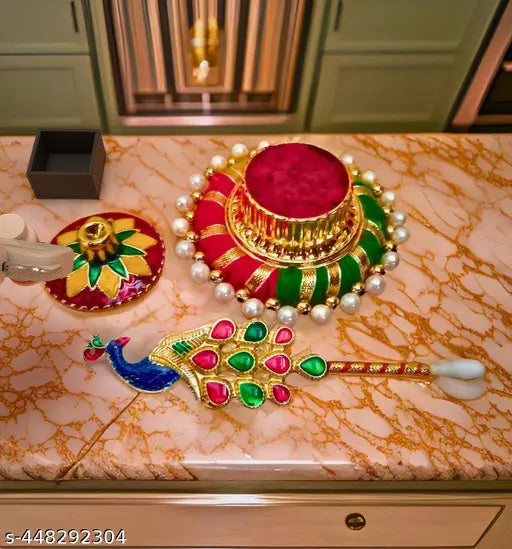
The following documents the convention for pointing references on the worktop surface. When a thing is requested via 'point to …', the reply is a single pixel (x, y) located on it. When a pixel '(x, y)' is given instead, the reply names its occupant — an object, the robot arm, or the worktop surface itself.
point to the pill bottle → (17, 237)
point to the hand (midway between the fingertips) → (19, 244)
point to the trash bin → (67, 163)
